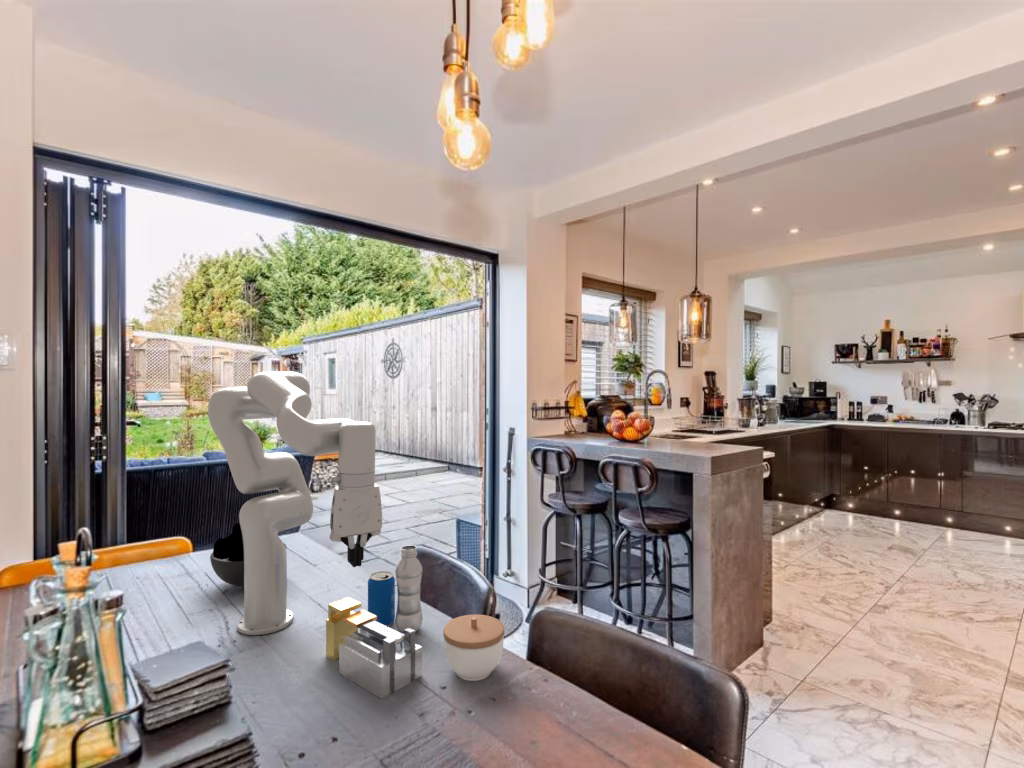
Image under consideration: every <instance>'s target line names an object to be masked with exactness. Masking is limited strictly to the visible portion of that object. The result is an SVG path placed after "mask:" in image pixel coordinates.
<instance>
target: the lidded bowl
mask: <svg viewBox="0 0 1024 768" xmlns="http://www.w3.org/2000/svg"><path fill="white" fill-rule="evenodd" d="M442 630H443V631H442V632H443V633H442V634H443V641H444V642H443V646H444V647H443V648H444V654H445V659H446V661H447V664H448V665H449V667H450V668H451V670H452V671H453V672H454V673H456V675H457V677H458V678H460V679H462V680H464V681H467V682H478V681H482V680H484V679H486V678H488V677H490V675H491V673H492V672H493V671H494V670H495V669H496V668H497V666H498V664H499V663H500V661H501V658H502V654H503V649H504V641H505V640H504V637H505V626H504V624H503V622H501V620H499V619H498V618H495V617H493V616H490V615H486V614H466V615H460V616H458V617H457V616H456V617H454V618H453V619H451V620H449V621H448V622H446V624H445V625H444V627H443V629H442Z"/></svg>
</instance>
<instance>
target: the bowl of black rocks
mask: <svg viewBox="0 0 1024 768" xmlns="http://www.w3.org/2000/svg"><path fill="white" fill-rule="evenodd" d="M231 529H232V532H231V533H230V534H229V535H228V536H226V537H224V538H223V537H219V538H217V539H216V541H215V542H214V544H213V549H212V550H213V551H212V553H210V556H209V559H210V565H211V567H212V570H213V572H214V573H215V575H216V576H217V577H218V578H219V579H220V580H221V581H223V582H225V583H226V584H228V585H231V586H234V587H238V588H240V587H241V588H244V544H243V536H242V530H241V526H240V522H236V523H235V524H234V525H233V526H232V527H231ZM283 543H284V542H283ZM284 545H285V547H286V550H287V544H286V543H284Z"/></svg>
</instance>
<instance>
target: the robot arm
mask: <svg viewBox="0 0 1024 768" xmlns="http://www.w3.org/2000/svg"><path fill="white" fill-rule="evenodd" d="M246 385H247V386H231V387H224V388H221V389H218V390H216V391H215V392H213V394H212V395H211V396H210V398H209V401H208V404H207V405H208V406H207V413H208V415H207V416H208V419H209V420H208V421H209V424H210V427H211V429H212V431H213V432H214V434H215V436H216V437H217V439H218V441H219V443H220V444H221V446H222V448H223V451H224V454H225V457H226V460H227V463H228V466H229V470H230V472H231V476H232V479H233V482H234V484H235V487H236V488H237V490H238V491H239V492H240V493H241V494H243V495H248V494H249V495H254V494H258V493H264V492H268V491H270V492H271V491H275V490H278V492H274V493H269V494H264V495H259V496H256V497H252V498H251V499H249V500H247V501H246V502H244V504H242V506H241V508H240V510H239V515H238V518H239V523H240V526H241V530H242V536H243V544H244V587H243V604H242V607H243V616H242V617H241V618H240V619H239V620H238V621H237V623H236V630H237V632H239V633H240V634H243V635H247V636H260V635H267V634H272V633H275V632H278V631H281V630H283V629H285V628H287V627H288V626H289V625H291V623H292V622H293V621H294V613H293V611H292V610H290V609H287V607H288V605H287V604H288V603H287V602H288V600H287V599H288V598H287V597H288V595H287V594H288V583H287V582H288V581H287V580H288V577H287V576H288V570H287V566H288V564H287V562H288V559H287V558H288V555H287V553H288V552H287V549H286V547H285V545H284V542H283V541H282V539H281V538H280V537H279V535H278V533H280V532H283V531H286V530H290V529H294V528H297V527H300V526H303V525H305V524H307V523H308V522H309V521H310V520H311V519H312V516H313V514H314V504H313V499H312V496H311V493H310V490H309V488H308V485H307V482H306V479H305V477H304V474H303V471H302V468H301V466H300V464H299V461H298V460H297V458H295V456H294V455H293V454H291V453H289V452H284V451H277V452H271V453H269V452H266V451H265V450H264V449H265V448H263V444H262V440H261V438H260V437H259V435H258V434H257V433H256V432H255V431H254V430H253V429H252V428H251V427H250V426H249V425H247V424H246V423H244V421H243V420H258V419H271V418H276V428H277V433H278V435H279V436H280V439H281V440H282V442H284V443H285V444H286V445H287V446H289V447H290V448H291V449H292V450H294V451H296V452H297V453H298V454H300V455H303V456H307V457H309V456H310V457H313V456H314V457H315V456H319V455H320V456H321V455H327V454H335V453H338V468H337V469H338V471H337V474H336V475H334V476H331V477H330V481H331V483H332V484H334V483H335V484H337V485H336V486H335V487H334V491H333V495H332V500H331V508H330V521H329V525H330V526H329V527H330V530H331V531H330V535H329V539H330V540H331V541H332V542H336V543H340V542H341V543H343V544H344V545H345V546H346V547H347V554H346V556H347V562H348V563H349V564H350V565H351V566H352V567H353V568H357V567H362V561H363V560H364V557H365V556H364V554H365V553H364V549H365V547H366V545H367V543H368V542H369V540H371V538H372V537H375V536H378V535H380V534H381V532H382V528H383V505H382V498H381V491H380V485H379V484H377V483H375V482H376V481H375V480H376V477H375V476H376V426H375V425H374V424H373V422H369V421H362V420H361V421H359V420H357V421H356V420H353V419H351V418H345V417H344V418H343V417H339V418H338V417H337V418H325V419H324V418H323V419H313V420H310V419H306V418H307V417H308V415H309V414H310V412H311V410H312V405H313V404H312V403H313V402H312V400H311V396H310V392H311V386H310V382H309V381H308V379H307V377H305V375H304V374H302V373H299V372H297V371H279V370H278V371H277V370H275V371H274V370H269V371H268V370H266V371H261V372H258V373H256V374H254V375H253V376H252V377H250V378H249V379H248V382H247V384H246ZM355 536H356V540H355ZM355 541H356V542H355Z"/></svg>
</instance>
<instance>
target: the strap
mask: <svg viewBox="0 0 1024 768" xmlns="http://www.w3.org/2000/svg"><path fill="white" fill-rule="evenodd" d="M375 620H377V616H376V615H374V614H371V613H369V612H368V610H365V609H361V610H358V611H355V613H353V614H351V615H348V616H346V617H343V622H345V623H347V624H349V625H351V626H353V627H355V628H358V629H359V630H360V629H362V630H364V631H366V632H368V633H370V634H372V635H374V636H376V637H378V638H380V639H382V640H383V639H386V638H390V639H393V640H395V645H396V644H398V643H400V642H403V641H405V640H407V639H408V636H407V634H405V635H404V633H401V632H399V631H398V630H397V629H393V628H391V627H390V626H388V627H387V626H385V625H383V624H381V623H379V622H376V621H375Z"/></svg>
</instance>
